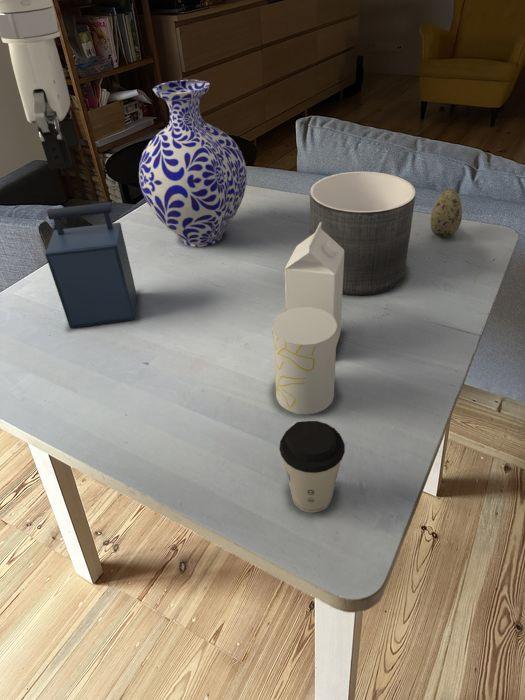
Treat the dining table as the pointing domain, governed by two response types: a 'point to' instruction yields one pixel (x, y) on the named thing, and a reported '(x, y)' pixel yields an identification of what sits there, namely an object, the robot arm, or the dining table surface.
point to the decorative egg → (446, 214)
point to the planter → (366, 226)
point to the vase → (192, 169)
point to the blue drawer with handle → (91, 268)
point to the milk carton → (316, 276)
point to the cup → (304, 359)
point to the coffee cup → (312, 463)
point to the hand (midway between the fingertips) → (65, 156)
